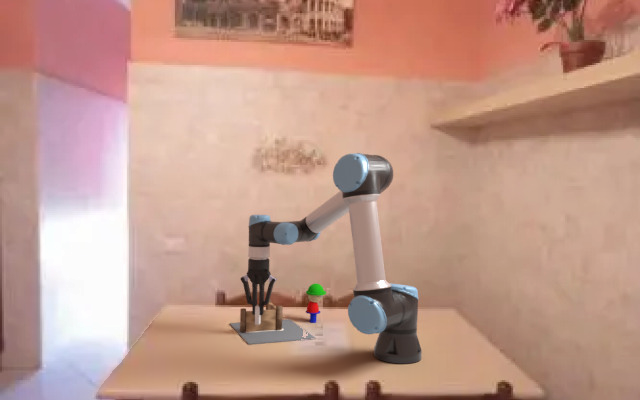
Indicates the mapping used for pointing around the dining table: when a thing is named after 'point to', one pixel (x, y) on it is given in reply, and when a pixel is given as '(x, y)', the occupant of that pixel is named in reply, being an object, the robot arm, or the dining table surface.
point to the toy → (314, 300)
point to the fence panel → (249, 320)
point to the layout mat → (273, 333)
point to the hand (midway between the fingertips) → (257, 323)
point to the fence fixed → (278, 314)
